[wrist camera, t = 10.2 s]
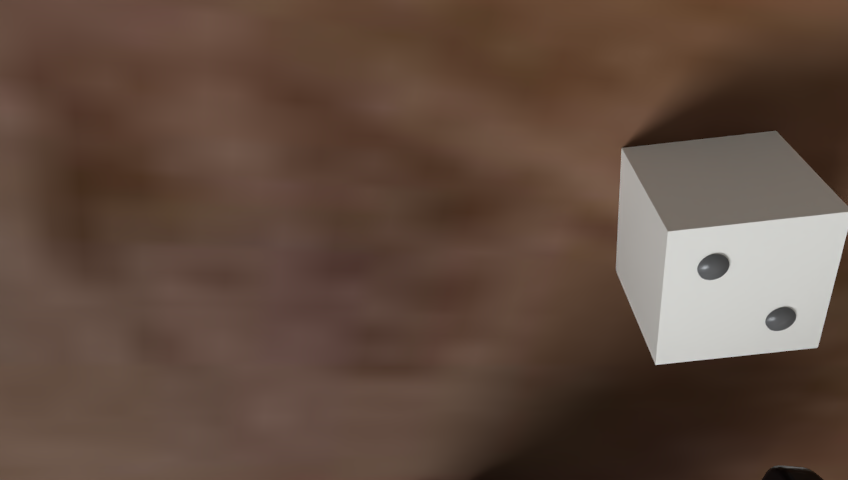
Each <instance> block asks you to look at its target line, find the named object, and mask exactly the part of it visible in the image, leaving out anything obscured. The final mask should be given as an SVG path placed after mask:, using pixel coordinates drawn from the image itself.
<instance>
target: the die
mask: <svg viewBox="0 0 848 480" xmlns="http://www.w3.org/2000/svg"><path fill="white" fill-rule="evenodd" d="M847 231H848V206H847V205H846V204H845V203H844V202H843V201H842V200H841V199H840V198H839V197H838V195H837V194H836V193H835V192H834V191H833V190H832V189H831V188H830V187H829V186H828V185H827V184H826V183H825V182H824V181H823V180H822V179H821V178H820V177H819V175H818V174H817V173H816V172H815V171H814V170H813V169H812V168H811V167H810V166H809V165H808V164H807V163H806V162H805V161H804V160H803V159H802V158H801V156H800V155H799V154H798V153H797V152H796V151H795V150H794V149H793V148H792V147H791V146H790V145H789V144H788V143H787V142H786V141H785V140H784V139H783V138H782V136H781V135H780V134H779V133H778V132H777V131H769V132H760V133H751V134H742V135H733V136H724V137H716V138H707V139H698V140H689V141H680V142H671V143H662V144H653V145H644V146H635V147H626V148H622V152H621V173H620V193H619V214H618V235H617V255H616V272H617V275H618V277H619V279H620V282H621V284H622V287H623V289H624V291H625V294H626V296H627V298H628V301H629V303H630V306H631V308H632V310H633V313H634V315H635V318H636V320H637V322H638V325H639V327H640V329H641V332H642V334H643V337H644V339H645V341H646V344H647V346H648V348H649V351H650V353H651V356H652V358H653V360H654V363H655V365H660V364H669V363H679V362H688V361H698V360H707V359H717V358H726V357H735V356H745V355H754V354H764V353H773V352H783V351H792V350H802V349H811V348H818V345H819V341H820V338H821V334H822V330H823V326H824V322H825V318H826V314H827V310H828V306H829V302H830V298H831V294H832V290H833V286H834V282H835V278H836V275H837V271H838V267H839V263H840V259H841V255H842V251H843V247H844V243H845V239H846V235H847Z"/></svg>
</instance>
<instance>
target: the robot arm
mask: <svg viewBox="0 0 848 480" xmlns="http://www.w3.org/2000/svg"><path fill="white" fill-rule="evenodd" d="M762 480H823V479H822V478H821V477H820V476H819V475H817V474H816V473H815V472H813V471H812V470H810V469H807V468H803V467H792V466H774V467H772V468H770V469H769V470H768V471H767V472H766V474H765V476H764V477H763V479H762Z"/></svg>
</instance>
